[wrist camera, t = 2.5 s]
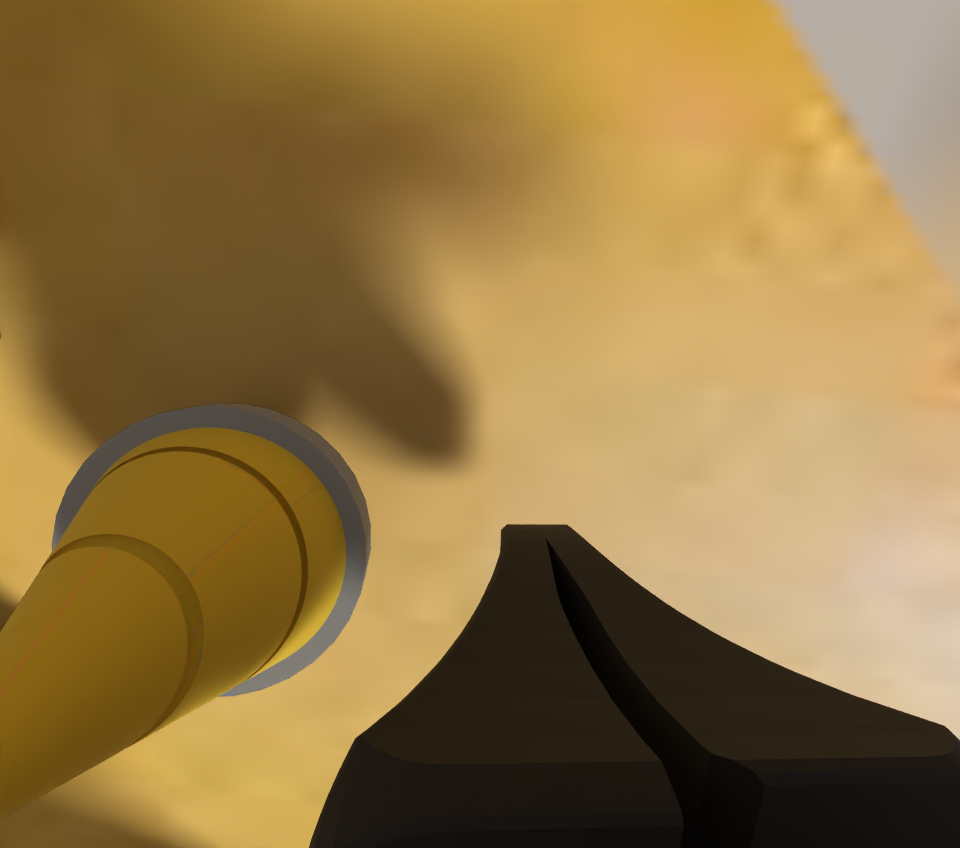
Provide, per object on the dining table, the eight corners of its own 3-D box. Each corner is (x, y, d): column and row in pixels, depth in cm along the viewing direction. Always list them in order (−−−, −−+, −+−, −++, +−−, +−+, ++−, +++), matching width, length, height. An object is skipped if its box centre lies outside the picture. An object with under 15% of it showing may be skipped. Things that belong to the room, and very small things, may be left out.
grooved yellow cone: (132, 575, 13) (-731, 1201, 3) (190, 365, 13) (-583, 367, 3) (346, 629, 14) (164, 1274, 4) (408, 431, 14) (371, 609, 4)
